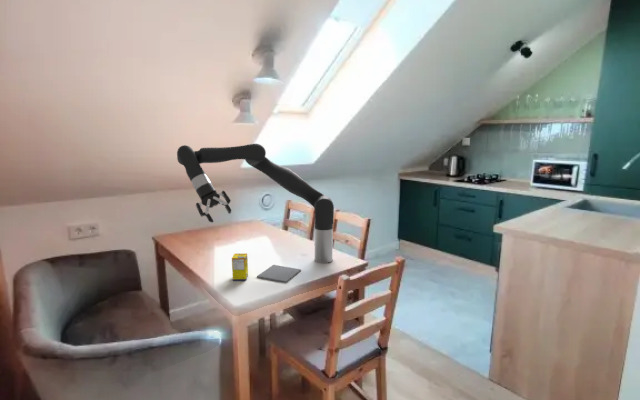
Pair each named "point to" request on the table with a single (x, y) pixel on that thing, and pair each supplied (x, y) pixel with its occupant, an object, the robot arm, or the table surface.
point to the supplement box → (240, 267)
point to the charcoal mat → (279, 273)
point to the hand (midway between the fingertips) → (221, 217)
